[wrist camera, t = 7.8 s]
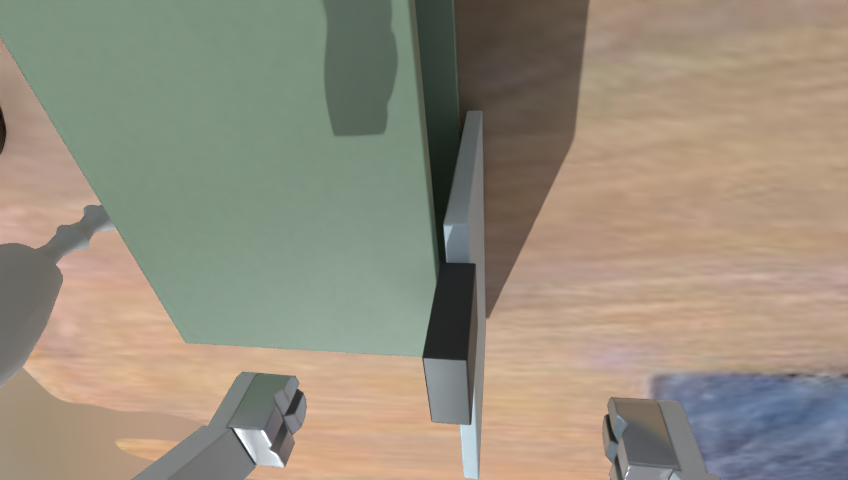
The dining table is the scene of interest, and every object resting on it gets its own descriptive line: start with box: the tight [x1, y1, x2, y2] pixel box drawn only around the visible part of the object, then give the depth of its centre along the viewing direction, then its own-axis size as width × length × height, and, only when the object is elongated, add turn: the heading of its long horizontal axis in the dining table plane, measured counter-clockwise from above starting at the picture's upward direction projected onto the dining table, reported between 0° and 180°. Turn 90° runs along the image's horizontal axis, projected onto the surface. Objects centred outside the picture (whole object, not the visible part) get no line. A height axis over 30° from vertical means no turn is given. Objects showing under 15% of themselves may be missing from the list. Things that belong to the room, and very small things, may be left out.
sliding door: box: [422, 111, 486, 479], centre depth 21 cm, size 1×16×15 cm, turn 6°
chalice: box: [0, 205, 116, 388], centre depth 21 cm, size 7×7×18 cm
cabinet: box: [0, 0, 461, 357], centre depth 18 cm, size 12×16×11 cm
